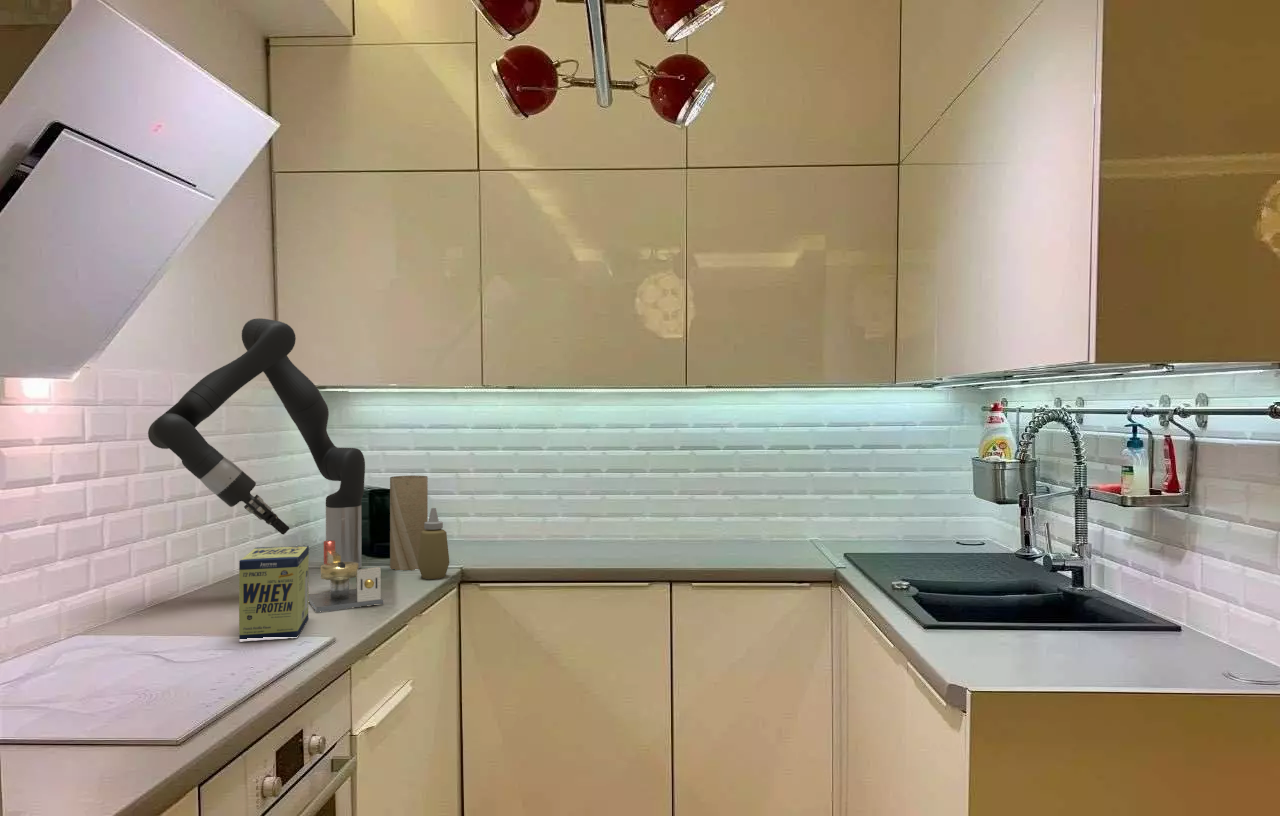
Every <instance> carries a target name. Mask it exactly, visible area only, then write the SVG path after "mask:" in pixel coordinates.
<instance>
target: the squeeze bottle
mask: <svg viewBox="0 0 1280 816" xmlns="http://www.w3.org/2000/svg"><path fill="white" fill-rule="evenodd" d="M443 523H444V522H443V521H441V520H439V516H438V512H437V508H436V507H432V508H430V513H429V517H428V522H425V523H424V529H426V530H424V531H422V532H421V535H420V545H419V555H418V567H419V572H420V575H421V578H422V579H423V580H425V579H426V580H437V579H438V580H439V579H444V577H446V576H447V572H448V569H449V566H450V555H449V545H448V535H447V531H446V530H445V529H443V527H444V526H443V525H444V524H443Z"/></svg>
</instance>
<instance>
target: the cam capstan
mask: <svg viewBox="0 0 1280 816" xmlns="http://www.w3.org/2000/svg"><path fill="white" fill-rule="evenodd" d="M357 569H358V563H356V562H341V556H340V555H339V554H338V553H337V552H336V551H335V540H328V541H326V540H323V564H322V565H320V579H322V580H326V581H327V580H328V581H330V580H342V579H349V580H350V579H354V578H356V570H357Z"/></svg>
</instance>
